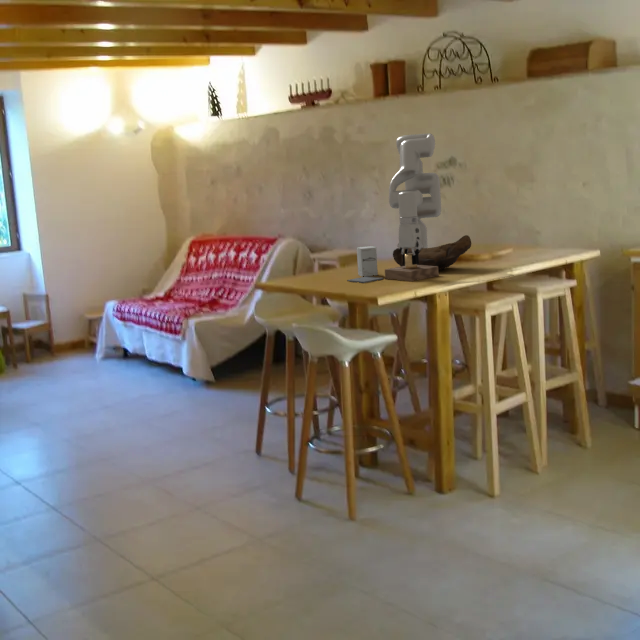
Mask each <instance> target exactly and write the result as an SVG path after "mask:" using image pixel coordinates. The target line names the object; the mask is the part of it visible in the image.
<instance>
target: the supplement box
mask: <svg viewBox="0 0 640 640" xmlns="http://www.w3.org/2000/svg"><path fill="white" fill-rule="evenodd" d="M377 256H378V255H377V247H376V246H372V245H371V246H370V245H369V246H359V247H356V258H357V259H356V260H357V273H358V276H360V277H363V276H364V277H366V276H368V277H374V276H378V275H379V274H378V260H377V259H378V257H377ZM373 275H374V276H373Z"/></svg>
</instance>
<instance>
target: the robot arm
mask: <svg viewBox="0 0 640 640" xmlns="http://www.w3.org/2000/svg"><path fill="white" fill-rule="evenodd" d="M395 144H396V149H397V153H398V154H399V170H398V171H397V172H396V173H395V175H394V176H393V177H392V179H391V180H390V183H389V185H388V186H389V188H388V204H389V206H390V207H391V208H392V209H398V215H399V226H398V243H397V245H396V246H397V248H399V249H400V251H401V254H402V255H403V264H405V254H408V249H409V248H411V249H412V253H413V255H412V264H413V265H415V264H419V256H418V255H419V254H420V251H421V250H422V248H429V247H428V229H427V225H426V224H425V223H424V222H423V221H422V220H421V219H425V218H426V219H428V218H437V217H439V216H440V215H441V212H442V196H441V195H442V193H441V180H440V176H439V175H438V174H437V173H436V172H424V170H423V169H424V167H423V161H422V159H423V158H430V157H432V156H433V155H434V152H435V147H436V139H435V136H434V135H433V134H432V133H418V134H417V133H416V134H405V135H401V136H398V137H397V138H396V141H395ZM403 183H404V187H405V188H404V189H405V190H403V189H402V190H397V188H399V186H400V185H402V184H403ZM423 195H429V196H423ZM405 249H406V250H405ZM415 249H416V251H415Z"/></svg>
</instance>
